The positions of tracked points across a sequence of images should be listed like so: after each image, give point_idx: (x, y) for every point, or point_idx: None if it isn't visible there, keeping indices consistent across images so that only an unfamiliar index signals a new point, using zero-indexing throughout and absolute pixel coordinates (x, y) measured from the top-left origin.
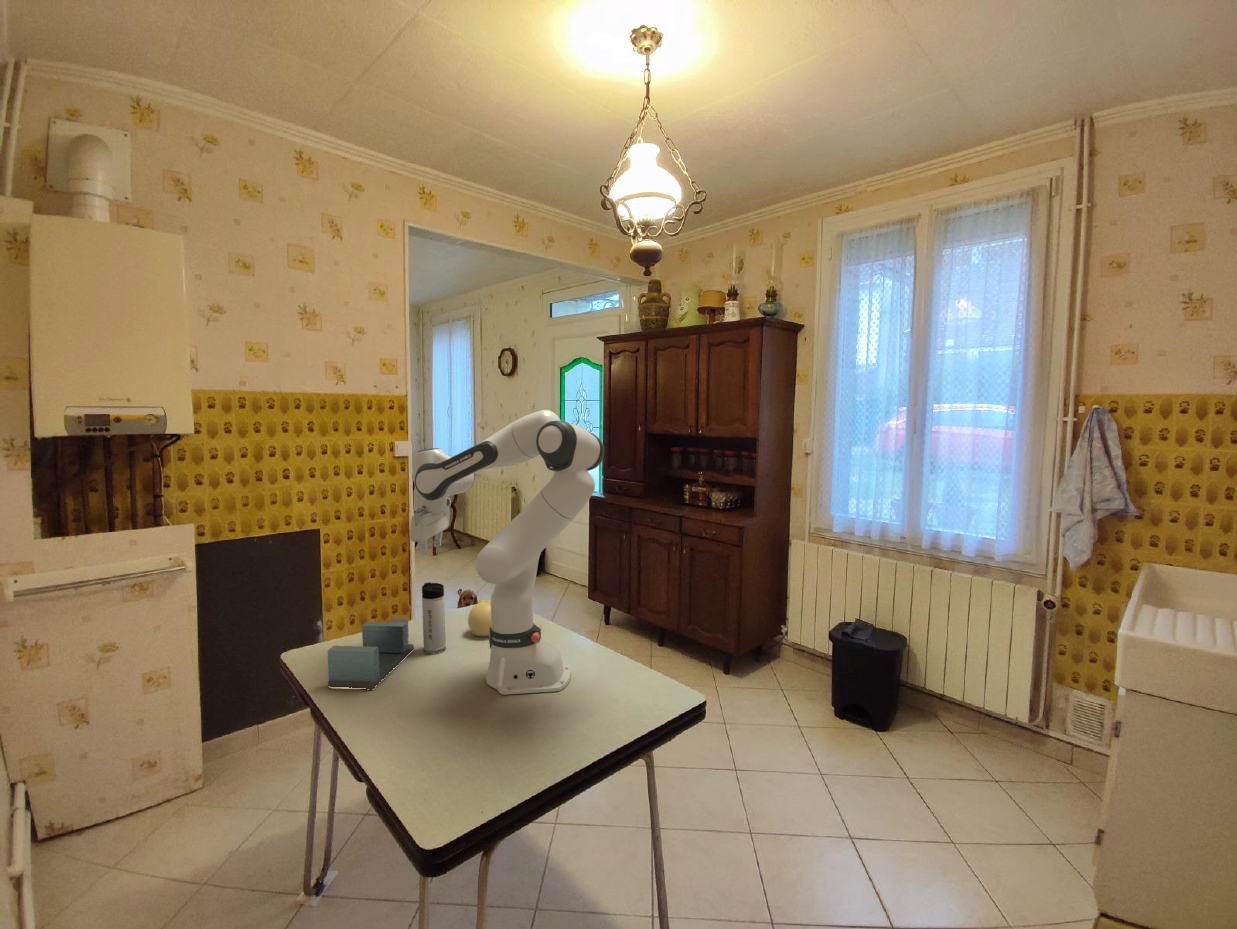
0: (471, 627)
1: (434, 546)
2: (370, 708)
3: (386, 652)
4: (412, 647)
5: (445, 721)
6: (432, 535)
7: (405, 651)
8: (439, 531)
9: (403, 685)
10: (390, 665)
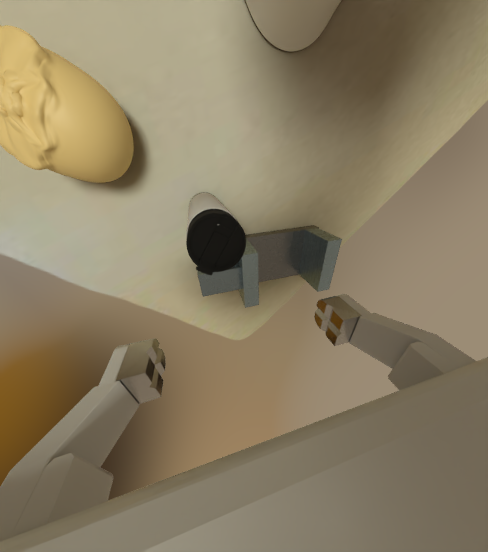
0: (130, 163)
1: (164, 356)
2: (347, 205)
3: None
4: None
5: (397, 85)
6: (418, 405)
7: None
8: (189, 503)
9: (305, 197)
10: (279, 234)
